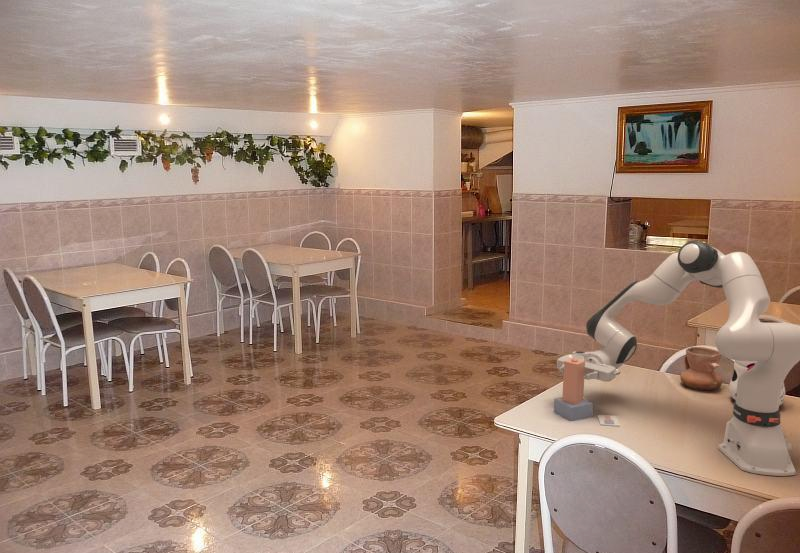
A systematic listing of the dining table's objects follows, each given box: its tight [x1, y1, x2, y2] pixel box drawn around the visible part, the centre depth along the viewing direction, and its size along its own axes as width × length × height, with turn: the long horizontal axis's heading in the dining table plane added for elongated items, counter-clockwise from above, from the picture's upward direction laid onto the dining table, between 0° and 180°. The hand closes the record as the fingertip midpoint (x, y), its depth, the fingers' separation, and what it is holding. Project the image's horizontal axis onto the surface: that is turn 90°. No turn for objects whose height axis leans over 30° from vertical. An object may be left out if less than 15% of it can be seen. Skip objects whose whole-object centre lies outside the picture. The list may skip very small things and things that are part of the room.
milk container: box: [728, 360, 786, 407], centre depth 230 cm, size 17×17×18 cm
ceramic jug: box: [680, 346, 723, 391], centre depth 247 cm, size 18×14×14 cm
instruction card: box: [597, 414, 621, 427], centre depth 216 cm, size 8×6×1 cm
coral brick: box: [561, 358, 585, 405], centre depth 220 cm, size 5×5×14 cm
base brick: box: [553, 396, 594, 422], centre depth 221 cm, size 9×9×5 cm
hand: (573, 373), depth 219 cm, fingers open, 8 cm apart
